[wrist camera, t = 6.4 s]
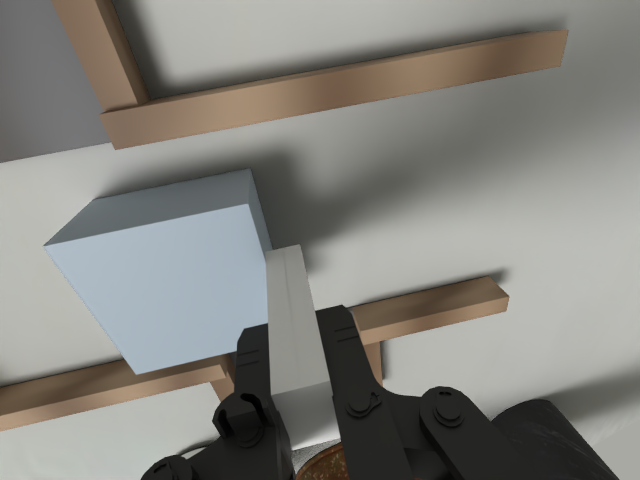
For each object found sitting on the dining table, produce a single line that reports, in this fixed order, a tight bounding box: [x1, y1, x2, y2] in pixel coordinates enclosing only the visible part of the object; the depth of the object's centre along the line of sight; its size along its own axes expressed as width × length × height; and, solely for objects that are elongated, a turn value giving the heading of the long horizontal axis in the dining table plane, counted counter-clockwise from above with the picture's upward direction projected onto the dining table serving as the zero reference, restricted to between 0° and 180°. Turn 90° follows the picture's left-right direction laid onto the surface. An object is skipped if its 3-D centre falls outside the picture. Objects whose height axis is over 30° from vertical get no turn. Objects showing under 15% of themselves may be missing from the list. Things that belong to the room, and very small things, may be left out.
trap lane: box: [0, 0, 568, 431], centre depth 14 cm, size 33×28×5 cm
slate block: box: [42, 168, 273, 375], centre depth 15 cm, size 7×7×4 cm
